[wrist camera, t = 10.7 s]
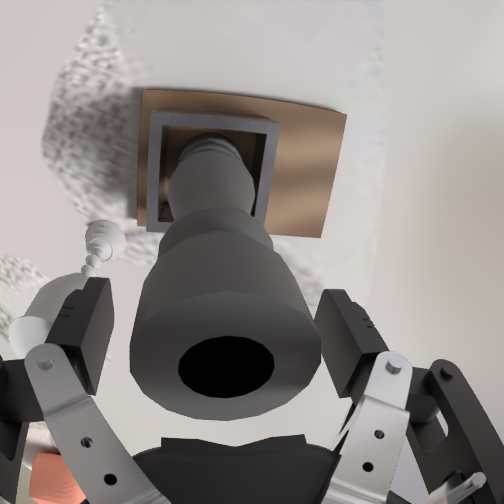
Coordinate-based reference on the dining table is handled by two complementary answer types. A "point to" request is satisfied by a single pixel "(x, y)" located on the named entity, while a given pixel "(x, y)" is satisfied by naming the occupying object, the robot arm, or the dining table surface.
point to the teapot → (53, 481)
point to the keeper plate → (286, 161)
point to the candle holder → (220, 300)
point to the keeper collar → (265, 128)
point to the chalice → (65, 288)
